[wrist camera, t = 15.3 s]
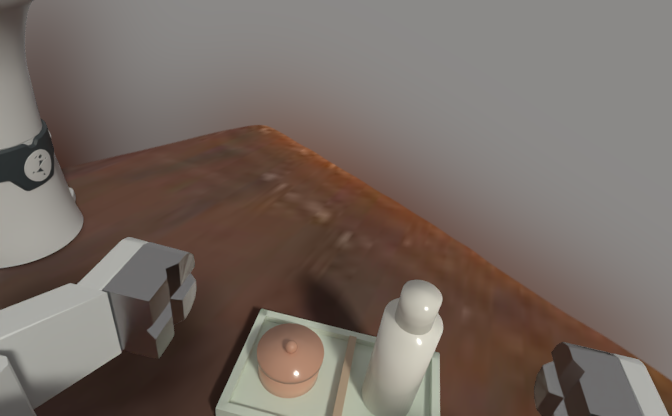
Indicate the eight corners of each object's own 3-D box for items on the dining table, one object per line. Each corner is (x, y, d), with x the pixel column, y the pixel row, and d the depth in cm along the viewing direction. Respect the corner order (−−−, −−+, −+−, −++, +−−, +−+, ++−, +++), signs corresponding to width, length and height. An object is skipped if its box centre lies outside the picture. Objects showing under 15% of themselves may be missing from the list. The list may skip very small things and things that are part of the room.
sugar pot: (246, 397, 41) (246, 362, 38) (267, 344, 46) (269, 309, 43) (310, 414, 41) (316, 381, 37) (325, 358, 46) (331, 324, 43)
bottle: (358, 413, 40) (389, 309, 32) (364, 368, 44) (393, 266, 36) (411, 426, 40) (455, 325, 32) (412, 379, 44) (452, 280, 36)
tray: (216, 420, 39) (215, 407, 38) (260, 320, 49) (261, 307, 47) (434, 480, 37) (441, 468, 36) (434, 364, 47) (440, 351, 46)
